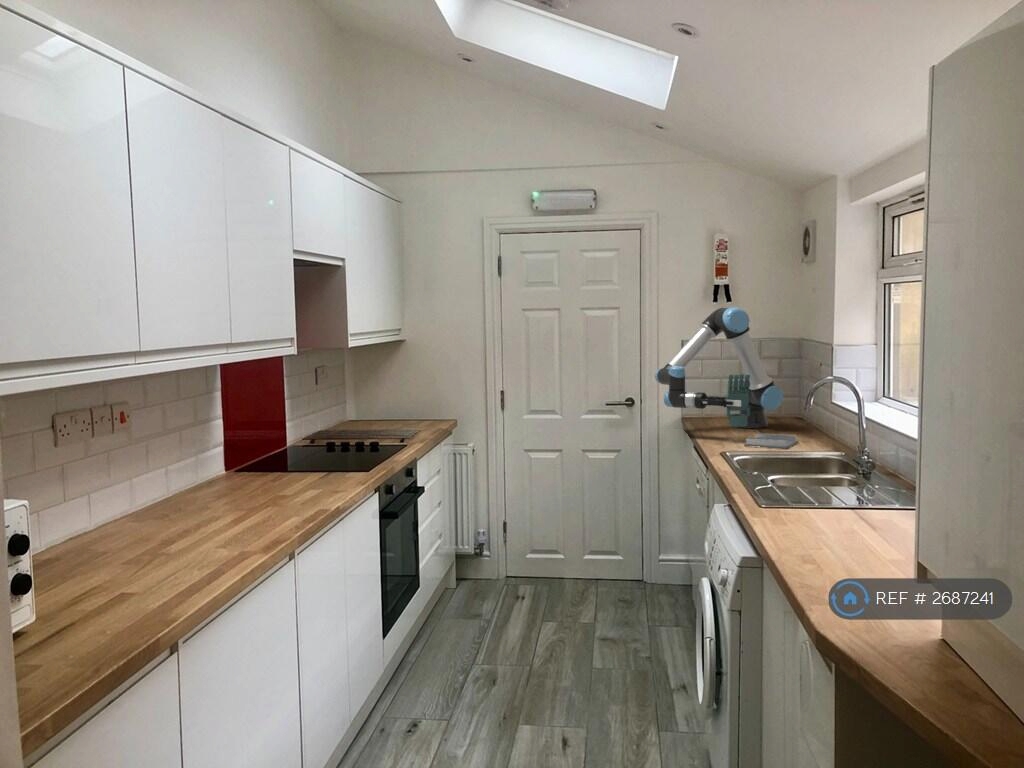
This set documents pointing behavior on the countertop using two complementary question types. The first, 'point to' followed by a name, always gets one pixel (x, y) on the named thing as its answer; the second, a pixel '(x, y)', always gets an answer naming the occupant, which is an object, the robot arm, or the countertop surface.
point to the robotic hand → (738, 394)
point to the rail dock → (772, 440)
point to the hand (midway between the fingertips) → (744, 402)
